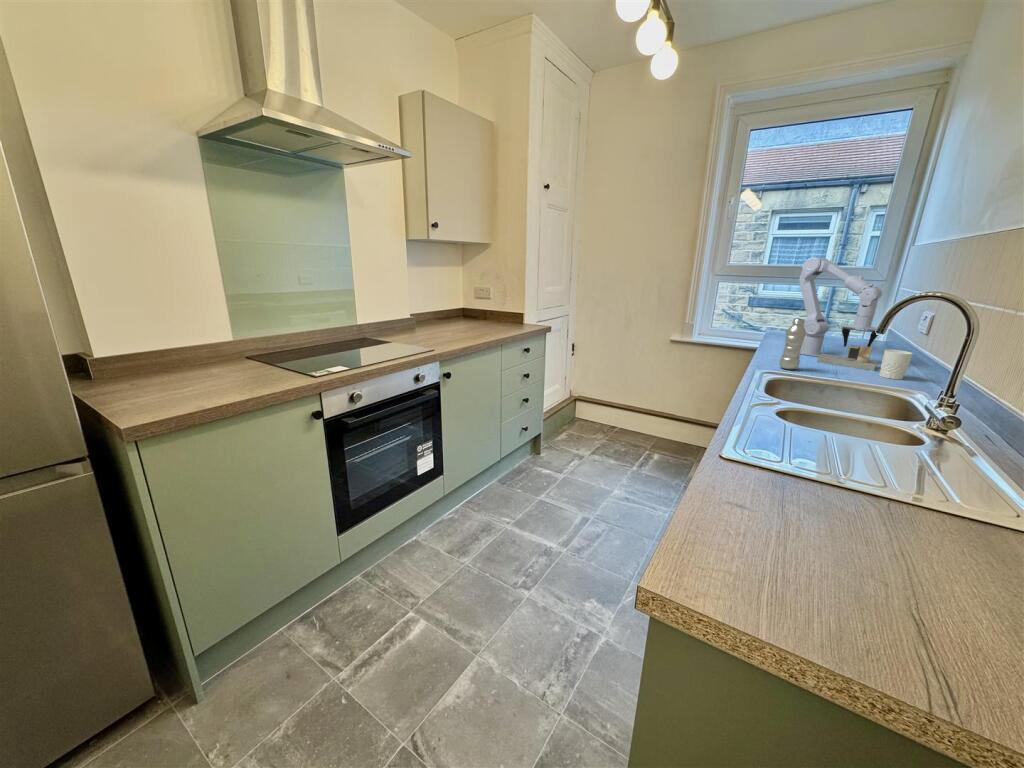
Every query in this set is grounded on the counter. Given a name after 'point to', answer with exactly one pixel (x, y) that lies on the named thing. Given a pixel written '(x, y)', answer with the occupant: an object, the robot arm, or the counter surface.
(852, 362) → the rail
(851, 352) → the loose finger
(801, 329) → the plastic bottle
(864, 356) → the tan upright block
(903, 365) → the white cup
